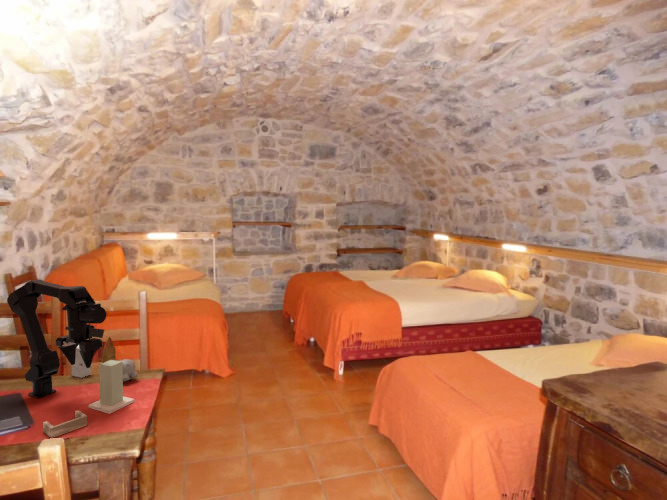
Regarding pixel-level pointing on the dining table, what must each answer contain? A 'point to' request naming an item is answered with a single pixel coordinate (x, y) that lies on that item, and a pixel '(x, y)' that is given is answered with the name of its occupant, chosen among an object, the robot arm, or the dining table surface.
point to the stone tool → (109, 351)
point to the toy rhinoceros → (128, 370)
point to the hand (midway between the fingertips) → (80, 366)
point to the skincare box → (80, 366)
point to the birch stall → (65, 425)
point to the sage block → (111, 382)
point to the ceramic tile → (109, 408)
